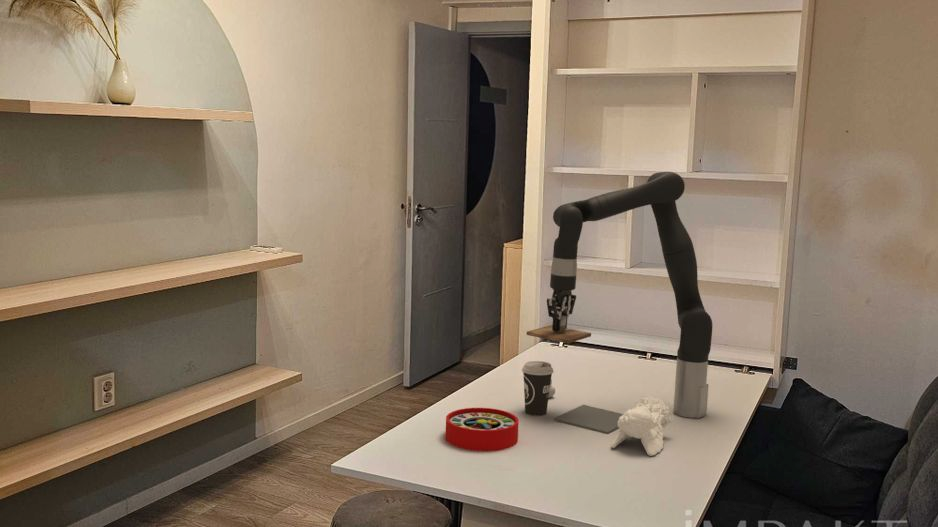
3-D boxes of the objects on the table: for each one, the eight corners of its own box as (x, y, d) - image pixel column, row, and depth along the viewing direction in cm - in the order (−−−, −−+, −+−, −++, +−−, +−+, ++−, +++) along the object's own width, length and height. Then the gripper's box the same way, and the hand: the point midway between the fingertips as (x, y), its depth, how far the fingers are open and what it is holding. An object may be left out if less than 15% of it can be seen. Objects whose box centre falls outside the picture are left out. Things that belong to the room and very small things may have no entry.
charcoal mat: (635, 418, 261) (636, 417, 261) (607, 434, 246) (607, 431, 246) (583, 406, 271) (583, 404, 271) (553, 420, 257) (553, 418, 257)
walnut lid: (591, 336, 260) (592, 316, 259) (567, 343, 249) (569, 323, 248) (550, 328, 268) (552, 309, 268) (526, 334, 257) (527, 315, 256)
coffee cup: (540, 419, 257) (542, 370, 255) (513, 412, 263) (515, 364, 261) (557, 412, 265) (559, 364, 263) (531, 405, 271) (533, 358, 269)
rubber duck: (535, 398, 278) (537, 374, 277) (540, 393, 284) (541, 369, 283) (552, 400, 276) (553, 376, 275) (556, 395, 283) (558, 371, 282)
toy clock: (504, 405, 251) (529, 428, 232) (503, 425, 252) (528, 449, 233) (437, 409, 245) (457, 433, 226) (437, 429, 246) (456, 454, 227)
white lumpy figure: (679, 402, 244) (658, 413, 226) (673, 445, 245) (652, 460, 227) (634, 393, 250) (610, 403, 233) (629, 435, 251) (605, 448, 233)
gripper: (562, 277, 248) (558, 335, 251) (586, 272, 259) (582, 328, 262) (540, 273, 252) (536, 331, 255) (564, 269, 264) (560, 324, 266)
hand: (559, 329), depth 258 cm, fingers closed on walnut lid, 3 cm apart
